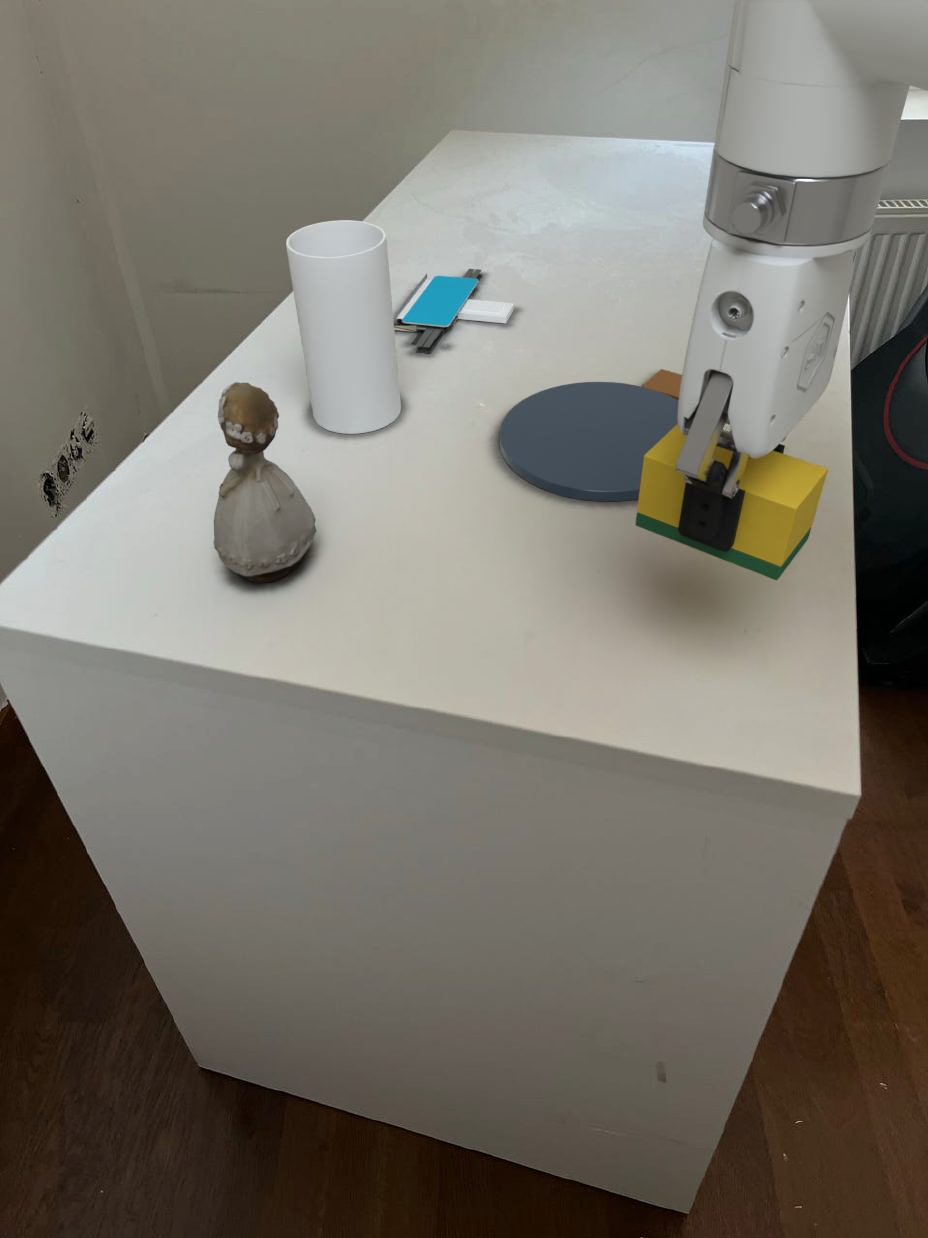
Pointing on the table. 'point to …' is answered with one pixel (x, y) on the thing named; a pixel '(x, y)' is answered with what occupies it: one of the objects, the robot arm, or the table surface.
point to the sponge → (769, 511)
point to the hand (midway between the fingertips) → (725, 515)
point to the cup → (346, 324)
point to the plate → (586, 438)
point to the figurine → (257, 494)
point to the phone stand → (445, 308)
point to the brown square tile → (665, 383)
